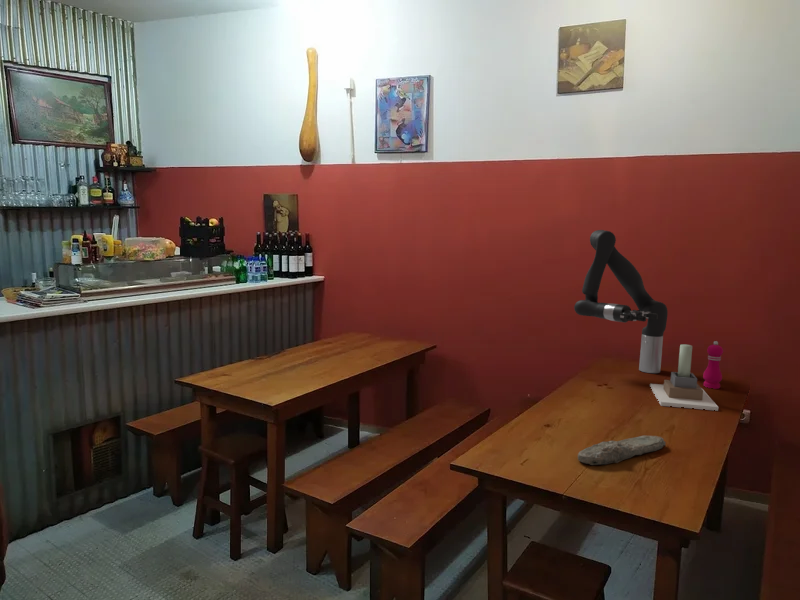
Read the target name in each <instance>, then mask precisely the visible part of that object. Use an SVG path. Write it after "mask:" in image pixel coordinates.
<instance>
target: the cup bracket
mask: <svg viewBox="0 0 800 600" xmlns="http://www.w3.org/2000/svg"><path fill="white" fill-rule="evenodd" d="M649 387H651V388H650V389H652V390H651V392H652V393H653V395H654V394H655V395H654V396H655V398H656V400H657V399H658V400H657V402H658V401H659V402H658V403H659V405H660V406H661V407H670V406H672V408H673V407H674V408H681V407H684V409H692V408H694V410H695V409H696V410H703V409H705V410H707V411H714V410H715V412H716V411H717V412H719V406H718V405H717V404H716V402H715V401H714V400H713V399H712V398H711V397H710V396H709V395H708V393H707V392H706V391H705V390H704V389H703V388H702V387H701V386H700V385H699V384H698V378H697V377H696V375H695V374H694V373H693V372H690V378H689V377H678V371H671V372H670V379H664V380H663V384H660V383H659V384H658V383H650V384H649ZM705 410H704V411H705Z"/></svg>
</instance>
